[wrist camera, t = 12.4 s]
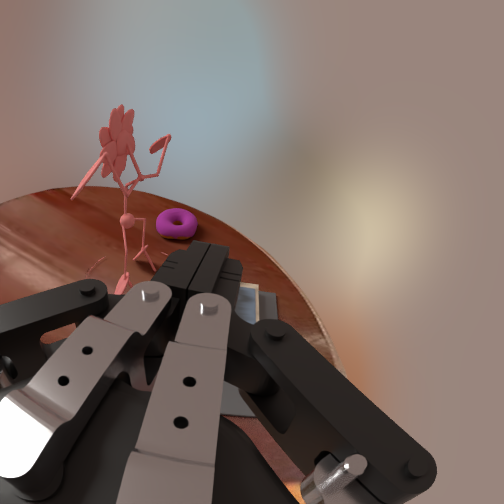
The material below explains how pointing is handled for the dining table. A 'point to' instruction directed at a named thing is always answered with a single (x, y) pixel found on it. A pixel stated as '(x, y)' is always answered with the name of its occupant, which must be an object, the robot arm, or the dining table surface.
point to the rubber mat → (230, 394)
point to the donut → (176, 224)
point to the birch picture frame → (248, 303)
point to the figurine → (114, 158)
